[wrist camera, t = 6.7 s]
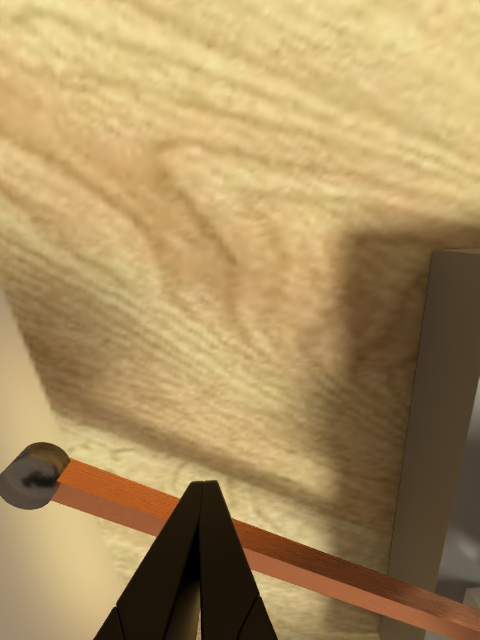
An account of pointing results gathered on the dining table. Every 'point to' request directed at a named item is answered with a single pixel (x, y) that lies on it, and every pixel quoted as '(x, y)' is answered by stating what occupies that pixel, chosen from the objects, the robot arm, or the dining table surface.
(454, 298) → the grey socket base
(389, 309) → the dining table surface
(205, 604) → the robot arm
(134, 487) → the copper link
